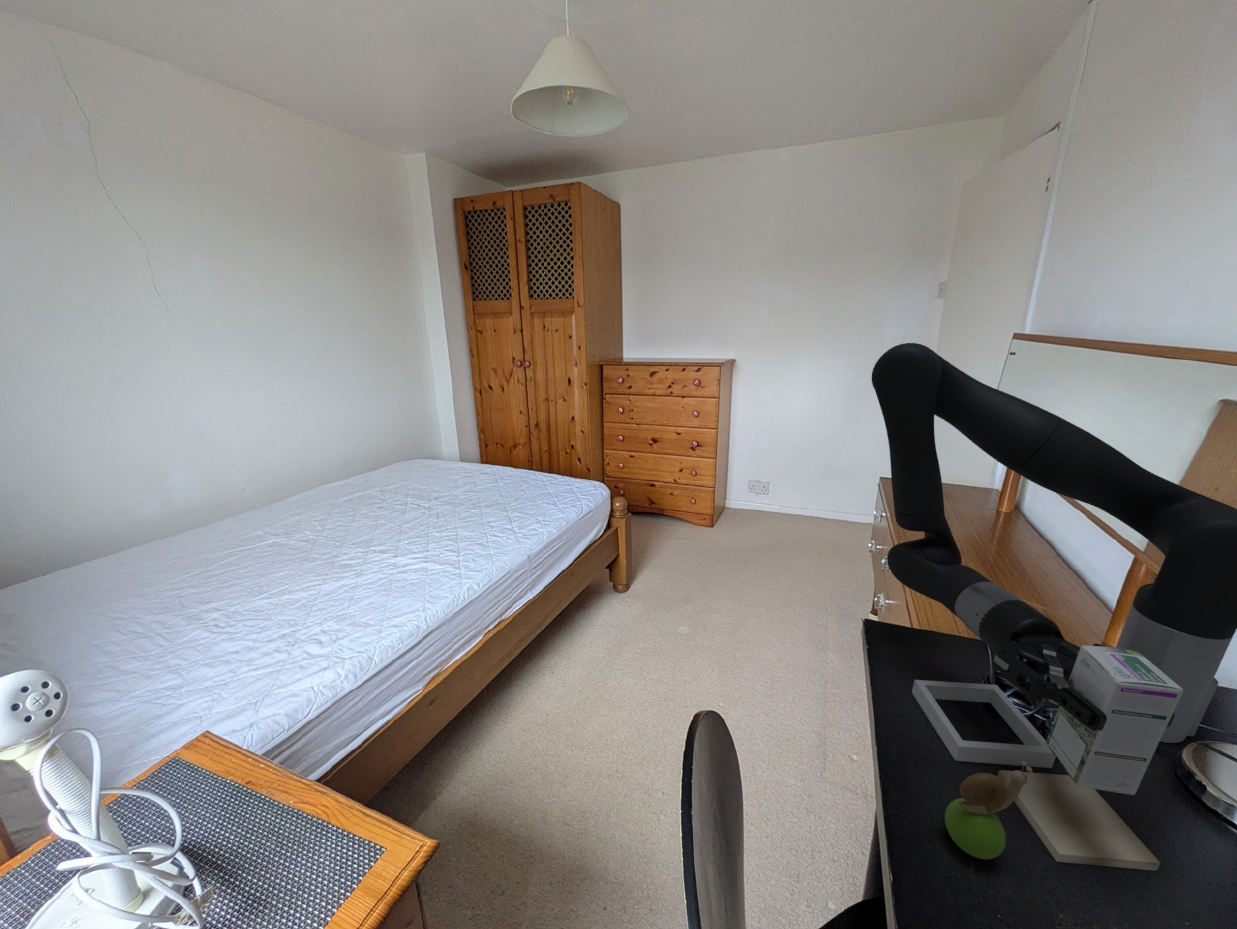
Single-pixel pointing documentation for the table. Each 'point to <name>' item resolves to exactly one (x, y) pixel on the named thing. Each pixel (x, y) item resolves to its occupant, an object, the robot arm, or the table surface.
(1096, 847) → the birch pad
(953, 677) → the table surface
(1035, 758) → the grey square frame
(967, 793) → the snail figurine
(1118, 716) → the syrup box
